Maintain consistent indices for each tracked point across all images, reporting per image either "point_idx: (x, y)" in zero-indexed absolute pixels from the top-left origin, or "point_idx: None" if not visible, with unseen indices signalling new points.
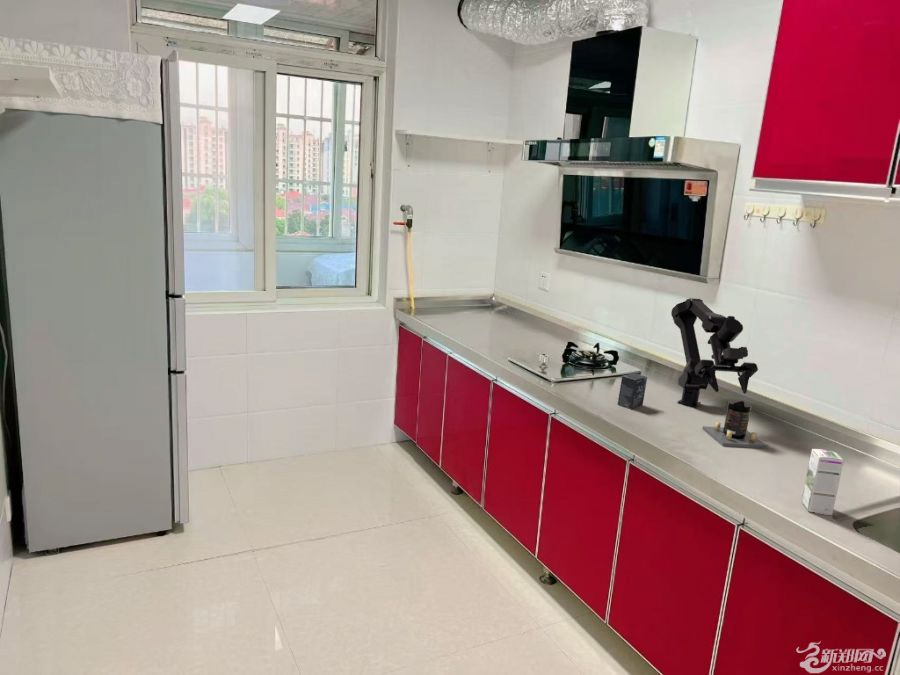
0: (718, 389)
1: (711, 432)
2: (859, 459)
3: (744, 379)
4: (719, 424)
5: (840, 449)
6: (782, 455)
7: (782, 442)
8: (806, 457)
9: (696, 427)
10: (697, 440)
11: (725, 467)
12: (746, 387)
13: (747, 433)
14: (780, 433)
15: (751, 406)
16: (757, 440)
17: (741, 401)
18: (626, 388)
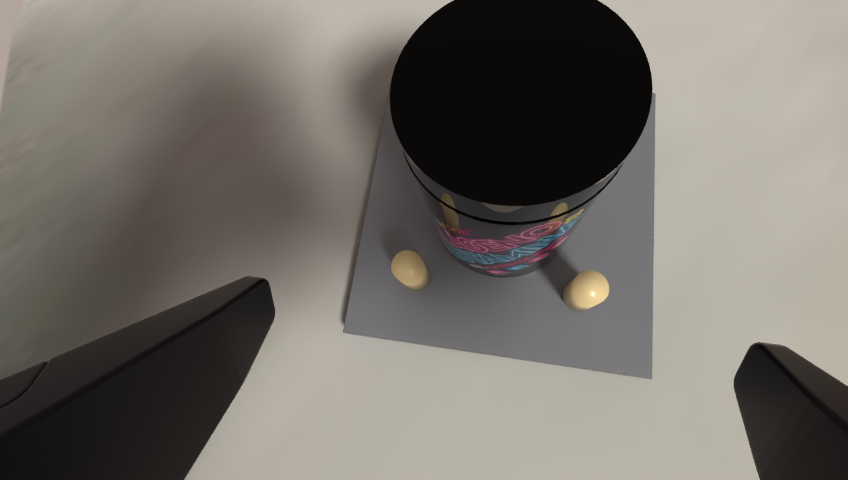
0: (771, 350)
1: (645, 256)
2: (58, 22)
3: (22, 449)
4: (588, 270)
5: (30, 113)
6: (374, 25)
7: (240, 177)
8: (273, 16)
9: (674, 418)
10: (783, 178)
11: None
12: (184, 310)
13: (385, 247)
14: (139, 306)
15: (426, 24)
16: (400, 144)
17: (446, 153)
18: None
